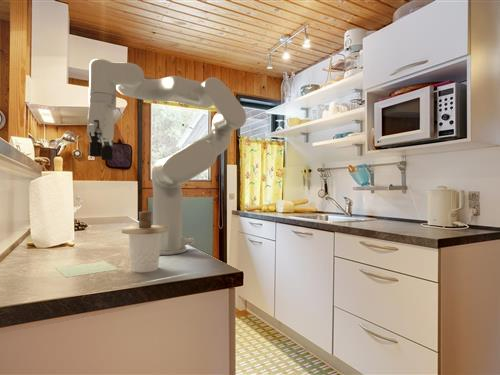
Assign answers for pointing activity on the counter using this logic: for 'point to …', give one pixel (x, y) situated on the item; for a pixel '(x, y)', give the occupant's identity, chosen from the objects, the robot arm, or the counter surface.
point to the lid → (144, 226)
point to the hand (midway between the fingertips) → (101, 158)
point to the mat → (86, 269)
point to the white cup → (144, 252)
